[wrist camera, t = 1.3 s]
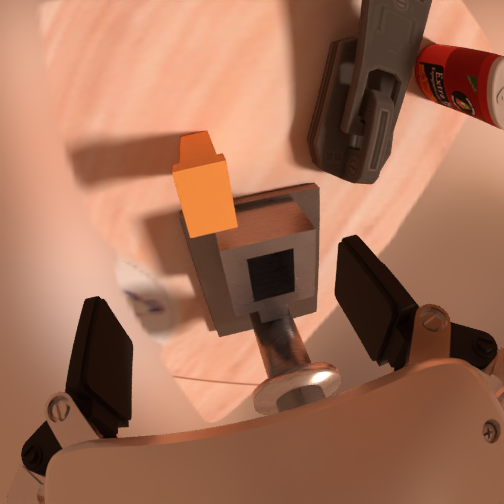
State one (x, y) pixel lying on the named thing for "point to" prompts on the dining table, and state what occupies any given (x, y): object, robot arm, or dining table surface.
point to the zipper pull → (366, 90)
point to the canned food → (464, 81)
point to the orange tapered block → (203, 186)
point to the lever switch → (269, 289)
